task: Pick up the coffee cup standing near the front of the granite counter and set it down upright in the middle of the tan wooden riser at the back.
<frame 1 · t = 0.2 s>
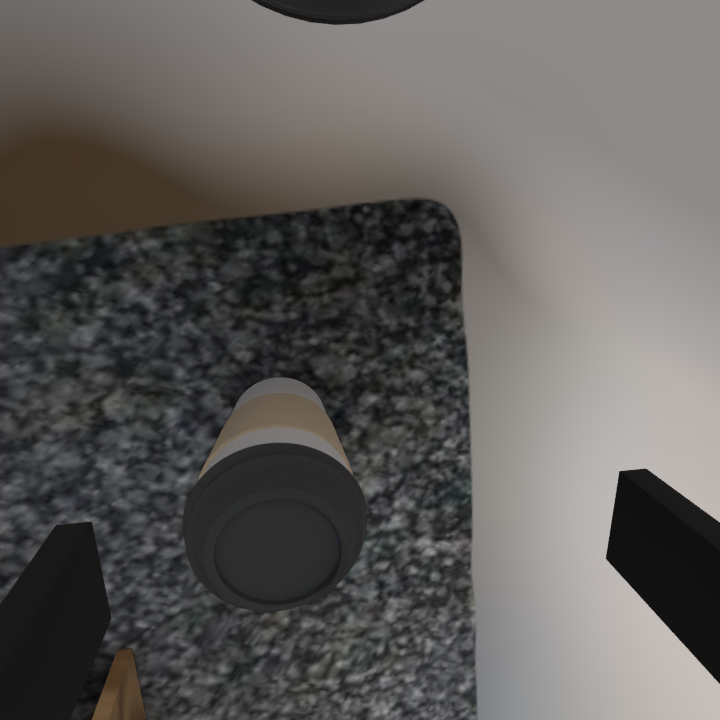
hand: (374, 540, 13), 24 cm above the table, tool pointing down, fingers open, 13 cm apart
coffee cup: (279, 420, 37), on the table
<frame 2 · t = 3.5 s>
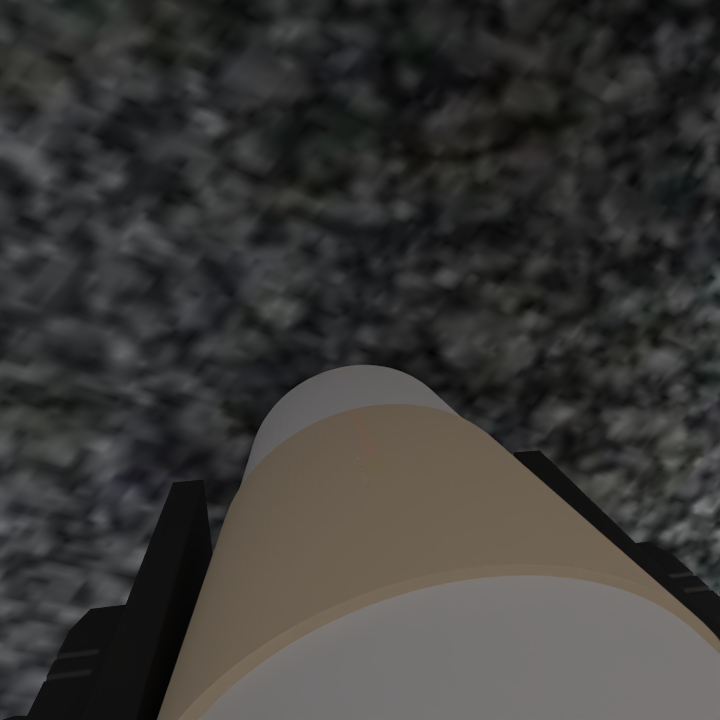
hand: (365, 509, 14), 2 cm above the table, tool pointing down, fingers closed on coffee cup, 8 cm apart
coffee cup: (355, 463, 16), on the table, touching gripper
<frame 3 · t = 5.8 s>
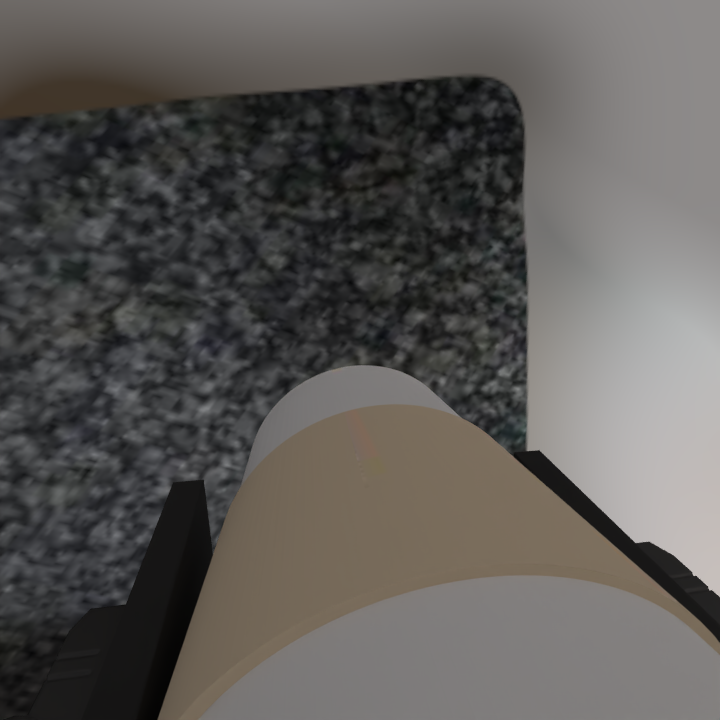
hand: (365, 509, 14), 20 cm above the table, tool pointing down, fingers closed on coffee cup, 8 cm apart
coffee cup: (355, 463, 16), point 17 cm above the table, touching gripper
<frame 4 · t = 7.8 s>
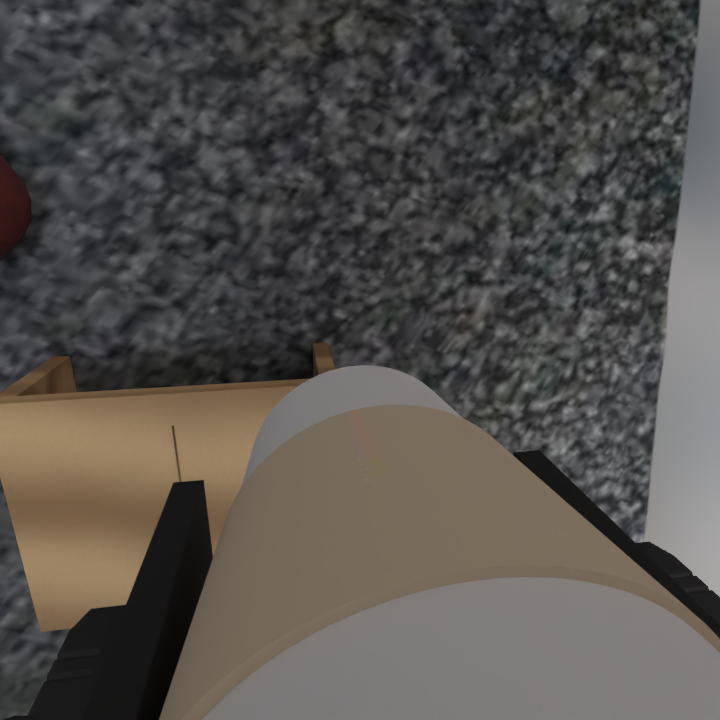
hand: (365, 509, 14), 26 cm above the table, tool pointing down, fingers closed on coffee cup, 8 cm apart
coffee cup: (356, 464, 16), point 23 cm above the table, touching gripper
tan wooden riser: (206, 444, 40), on the table
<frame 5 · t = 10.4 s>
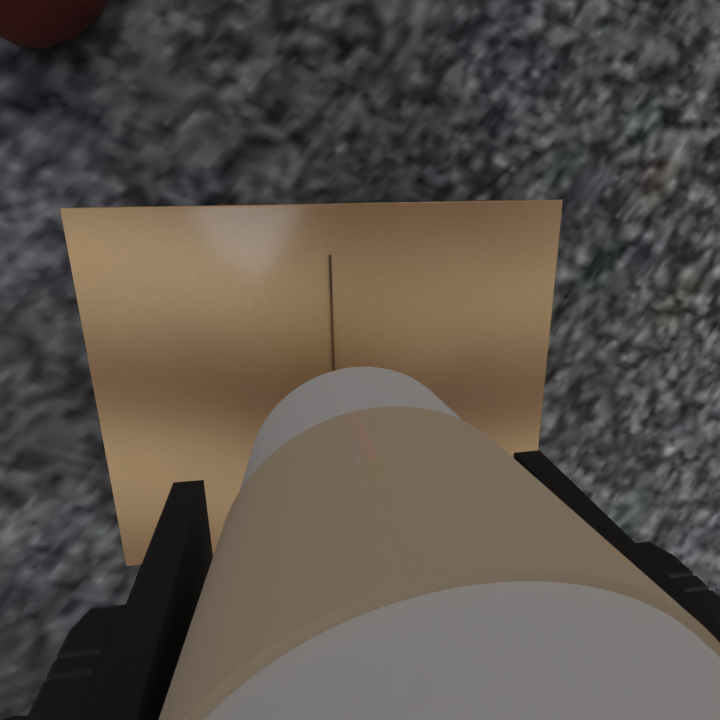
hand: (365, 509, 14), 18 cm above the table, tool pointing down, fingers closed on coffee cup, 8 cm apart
coffee cup: (355, 465, 16), point 16 cm above the table, touching gripper
tan wooden riser: (319, 338, 31), on the table
when the fingers open (12 cm above the table, at t = 12.5 s): coffee cup stays where it is, resting on tan wooden riser.
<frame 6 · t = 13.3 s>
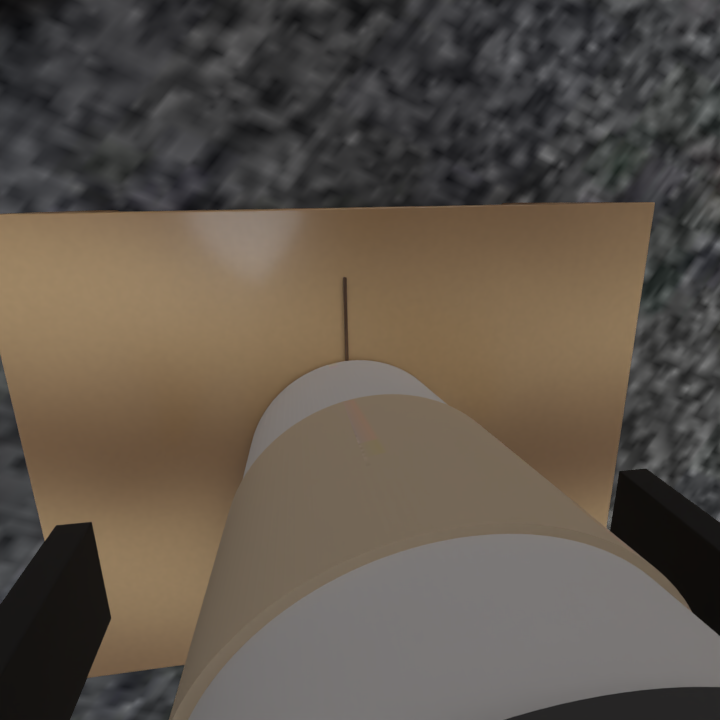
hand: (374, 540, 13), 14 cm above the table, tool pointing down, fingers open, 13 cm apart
coffee cup: (351, 454, 17), point 9 cm above the table, touching tan wooden riser
tan wooden riser: (326, 370, 26), on the table
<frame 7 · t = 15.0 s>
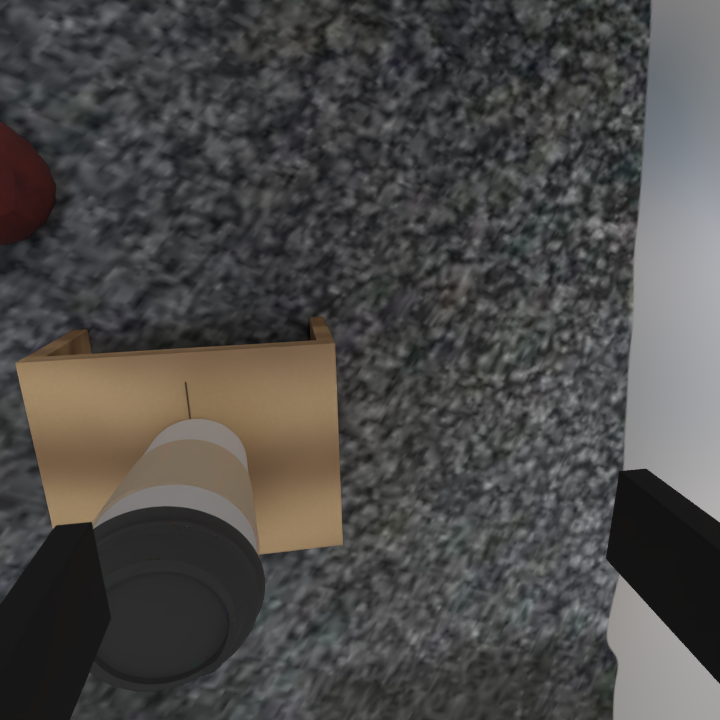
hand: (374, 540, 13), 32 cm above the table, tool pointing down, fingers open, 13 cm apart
potato: (15, 183, 37), on the table
coffee cup: (197, 463, 35), point 9 cm above the table, touching tan wooden riser
tan wooden riser: (212, 413, 44), on the table
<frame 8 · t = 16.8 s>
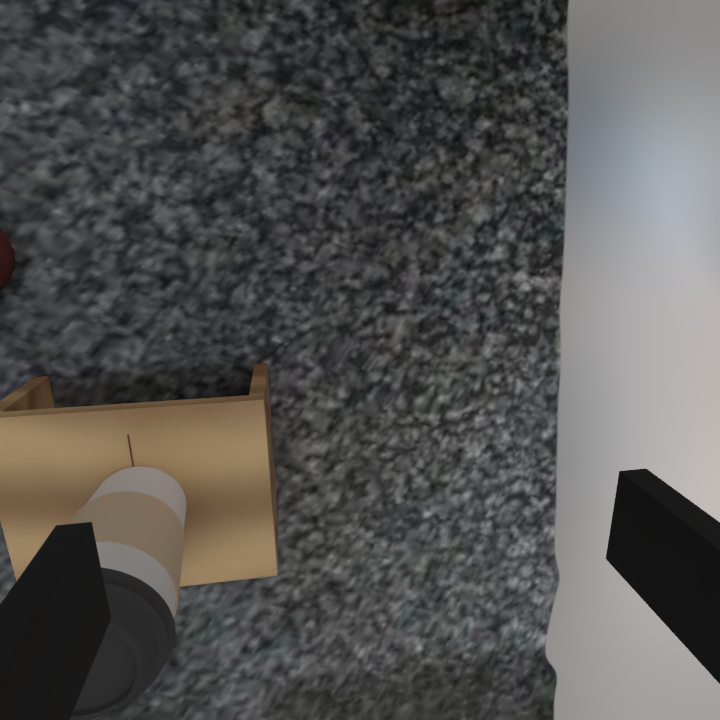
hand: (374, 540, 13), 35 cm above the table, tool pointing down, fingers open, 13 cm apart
coffee cup: (141, 504, 39), point 9 cm above the table, touching tan wooden riser
tan wooden riser: (165, 450, 48), on the table
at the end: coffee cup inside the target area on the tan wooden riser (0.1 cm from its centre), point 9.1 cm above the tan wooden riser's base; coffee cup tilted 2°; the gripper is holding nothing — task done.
